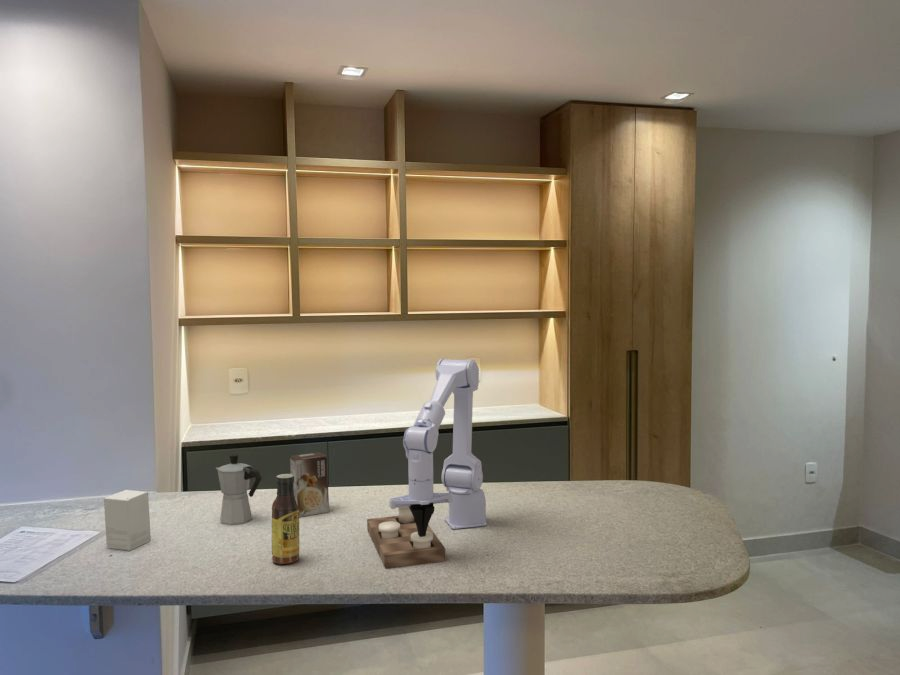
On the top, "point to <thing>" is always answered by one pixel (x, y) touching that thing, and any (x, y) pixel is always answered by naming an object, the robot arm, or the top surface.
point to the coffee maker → (236, 491)
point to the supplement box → (127, 520)
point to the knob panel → (403, 545)
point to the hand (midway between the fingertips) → (421, 535)
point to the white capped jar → (405, 515)
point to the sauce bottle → (285, 522)
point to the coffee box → (310, 483)
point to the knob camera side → (421, 540)
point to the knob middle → (389, 529)
